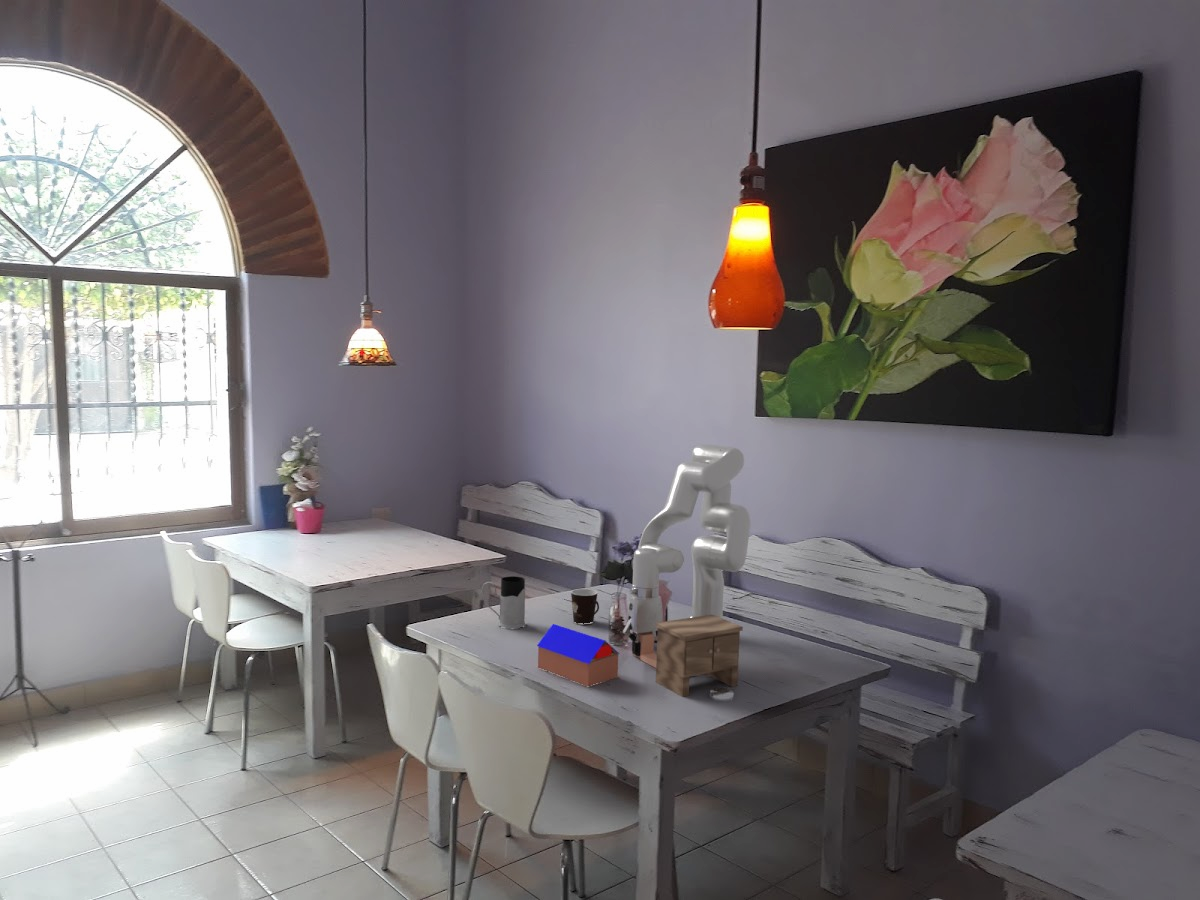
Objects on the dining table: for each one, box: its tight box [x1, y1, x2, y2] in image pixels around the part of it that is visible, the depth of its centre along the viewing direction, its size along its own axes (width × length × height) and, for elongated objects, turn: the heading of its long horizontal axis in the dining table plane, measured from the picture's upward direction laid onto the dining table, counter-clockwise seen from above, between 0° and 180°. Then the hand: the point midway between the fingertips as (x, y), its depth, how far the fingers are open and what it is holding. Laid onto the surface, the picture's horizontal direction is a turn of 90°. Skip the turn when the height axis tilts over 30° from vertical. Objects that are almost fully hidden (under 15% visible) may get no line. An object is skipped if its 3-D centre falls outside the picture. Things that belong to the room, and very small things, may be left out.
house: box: [537, 623, 620, 687], centre depth 246 cm, size 12×20×12 cm, turn 46°
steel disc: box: [709, 687, 735, 702], centre depth 232 cm, size 6×6×2 cm
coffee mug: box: [570, 588, 600, 624], centre depth 293 cm, size 12×9×10 cm
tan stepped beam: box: [631, 632, 657, 669], centre depth 255 cm, size 22×5×7 cm, turn 32°
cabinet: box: [655, 615, 744, 698], centre depth 240 cm, size 14×19×16 cm
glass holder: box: [481, 575, 526, 629], centre depth 288 cm, size 9×14×15 cm, turn 88°
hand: (642, 653), depth 262 cm, fingers closed on tan stepped beam, 4 cm apart
